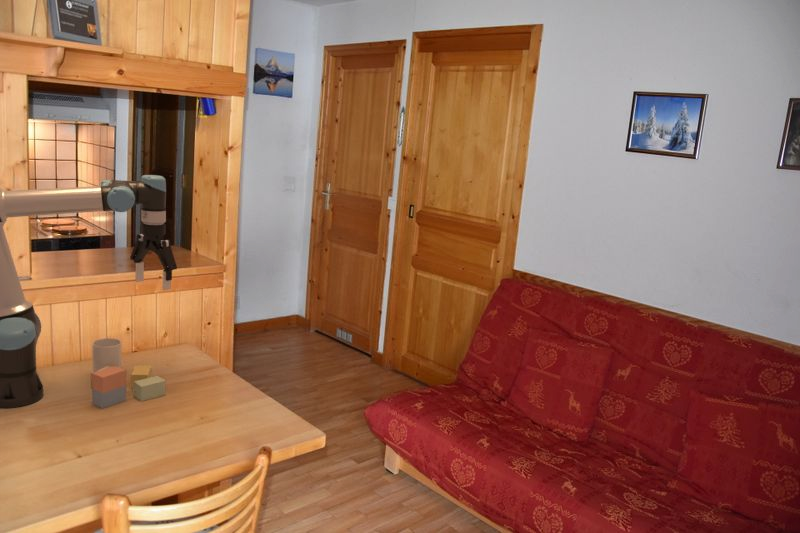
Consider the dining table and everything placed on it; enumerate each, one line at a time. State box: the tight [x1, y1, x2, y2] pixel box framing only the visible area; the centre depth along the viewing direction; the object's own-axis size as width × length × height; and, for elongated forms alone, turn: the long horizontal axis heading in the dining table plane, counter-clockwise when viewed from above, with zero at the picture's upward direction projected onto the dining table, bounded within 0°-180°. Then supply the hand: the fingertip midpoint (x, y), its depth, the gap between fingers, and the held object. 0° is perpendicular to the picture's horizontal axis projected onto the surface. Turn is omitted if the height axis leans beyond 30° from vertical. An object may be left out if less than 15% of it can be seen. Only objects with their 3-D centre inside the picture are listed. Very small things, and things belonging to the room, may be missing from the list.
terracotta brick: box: [91, 366, 127, 393], centre depth 199 cm, size 5×8×5 cm, turn 150°
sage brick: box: [133, 375, 167, 402], centre depth 207 cm, size 5×8×5 cm, turn 138°
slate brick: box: [91, 384, 127, 409], centre depth 200 cm, size 5×8×5 cm, turn 146°
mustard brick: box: [130, 365, 153, 390], centre depth 215 cm, size 5×8×5 cm, turn 12°
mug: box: [91, 337, 123, 373], centre depth 221 cm, size 12×9×11 cm
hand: (152, 285), depth 219 cm, fingers open, 13 cm apart
